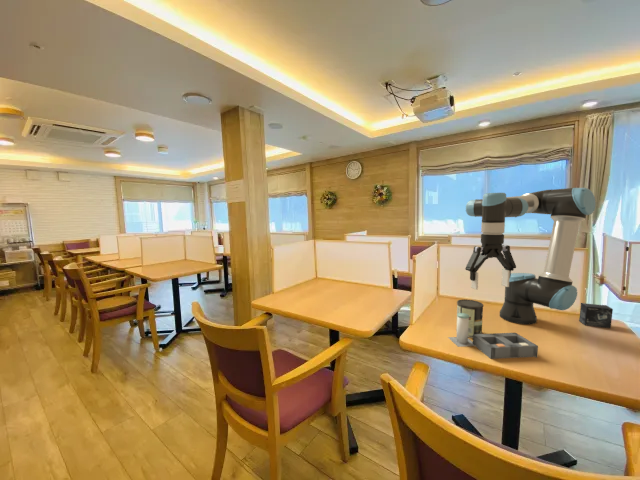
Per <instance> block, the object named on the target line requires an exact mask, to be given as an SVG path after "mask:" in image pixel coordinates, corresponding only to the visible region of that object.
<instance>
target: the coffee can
mask: <svg viewBox="0 0 640 480" xmlns="http://www.w3.org/2000/svg"><path fill="white" fill-rule="evenodd" d="M456 305H457V306H456V315H457V314H458V313H465V314H468V315H469V324H468V338H469V339H470V338H471V339H473V334H483V318H484V317H483V315H484V304H483V302H480V301H478V300H475V299H459V300H457V301H456ZM455 330H456V332H457V327H456V329H455Z"/></svg>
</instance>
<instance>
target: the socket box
mask: <svg viewBox="0 0 640 480" xmlns="http://www.w3.org/2000/svg"><path fill="white" fill-rule="evenodd" d="M472 342H473V345H474V346H473V347H475V348H477V349H478V350H479V351H480V352H481V353H483V354H484V355H485V356H487V358H489V359H491V360H495V359H496V360H497V359H515V358H517V359H519V358H536V359H537V358H538V356H539V355H538V353H539V345H537V344H536V343H534V342H533V341H530V340H529V339H527V338H525V336H522V335H520V334H518V333H517V332H496V333H482V334H473V338H472Z"/></svg>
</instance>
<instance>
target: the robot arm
mask: <svg viewBox="0 0 640 480" xmlns="http://www.w3.org/2000/svg"><path fill="white" fill-rule="evenodd" d="M595 210H596V198H595V195H594V192H593V191H592V190H591V189H590V188H587V187H568V188H556V189H544V190H543V189H542V190H539V191H534V192H528V193H524V194H522V195H518V196H517V195H516V196H507V194H506V193H505V192H489V193H484V194H483V195H482V198H481V199H478V198H477V199H471V200H469V201H468V202H466V204H465V212H466V214H467V215H468V216H470V217H475V218H476V217H481V228H480V229H481V231H480V233H481V234H480V243H481V246H473V250H472V251H473V252H472V253H471V256H470V258H469V260H468V262H467V264H466V266H465V268H464V269H465V270H466V271H468V272H469V280H470V283H471V284H470V288H471V289H474V290H478V289H479V272H478V271H479V269H480V268H481V267H482V266H483V264H484V263H485V262H486V260H488V259H492V258H494V259H495V258H496V259H497V260H498V262H499V263H500V264H501V265H502V268H503V269H502V271H501V286H503V287H505V288H504V302H503V304H502V306H501V309H500V310H499V318H501V319H503V320H504V321H507V322H510V323H514V324H520V325H536V324H537V321H538V317H537V313H536V311H535V307H534V304H536V305H539V306H542V307H546V308H550V309H554V310H557V311H558V310H559V311H567V310H568V309H570V308H571V307H572V306H573V305H574V303H575V301H576V300H577V297H578V289H577V287H576V286H575V285H573V280H572V279H571V278H570V273H571V268H572V262H573V258H574V253H575V247H576V243H577V237H578V234H579V229H580V224H581V223H582V222H584V221H585V220H586V218H587V216H589V215H592V214H593V213H594V211H595ZM525 214H540V215H550V218H551V220H553V225H552V228H551V229H552V230H551V235H550V238H549V244H548V249H547V255H546V260H545V265H544V269H543V272H541V273H540V274H538V278H536V275H535V274H534V273H529V272H527V273H526V272H513V273H512V271H514V270H515V269H516V268H517V265H516V263H515V260H514V257H513V255H512V252H511V246H510V245H507V244H505V235H504V233H505V227H506V225H505V224H506V223H505V222H506V218H518V217H522V216H524V215H525Z"/></svg>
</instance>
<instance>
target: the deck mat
mask: <svg viewBox="0 0 640 480" xmlns="http://www.w3.org/2000/svg"><path fill="white" fill-rule="evenodd" d="M447 338H448V339H449V340H450V341H451V342H452V343H453V344H454V345H455V346H457V347H461V348H462V347H475V346H474V345H473V340H471V339H470V338H468V343H467V344H461V343H458V342H457V341H456V339H457V336H449V337H447Z"/></svg>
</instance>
